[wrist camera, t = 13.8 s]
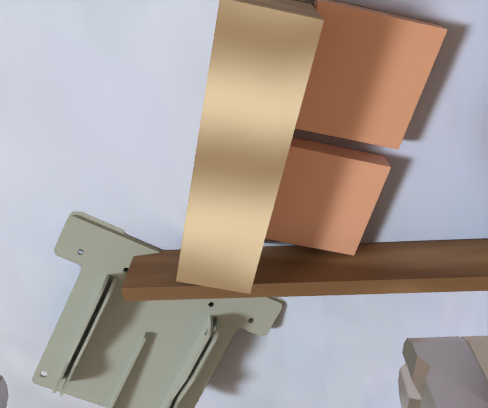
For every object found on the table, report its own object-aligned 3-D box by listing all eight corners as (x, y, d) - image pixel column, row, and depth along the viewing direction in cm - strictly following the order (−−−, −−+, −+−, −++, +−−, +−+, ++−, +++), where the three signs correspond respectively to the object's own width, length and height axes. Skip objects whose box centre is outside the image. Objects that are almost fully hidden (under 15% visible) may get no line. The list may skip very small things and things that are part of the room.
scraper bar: (251, 239, 29) (249, 293, 24) (188, 228, 28) (175, 281, 24) (311, 3, 21) (324, 20, 17) (228, -16, 21) (220, -3, 17)
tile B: (389, 136, 25) (398, 149, 23) (283, 114, 25) (285, 126, 23) (434, 22, 22) (447, 29, 20) (314, -5, 21) (318, 0, 20)
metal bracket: (200, 468, 32) (-16, 401, 28) (199, 409, 37) (18, 347, 34) (298, 300, 29) (70, 203, 26) (281, 263, 34) (92, 179, 31)
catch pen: (502, 251, 28) (531, 289, 25) (138, 263, 29) (124, 301, 26) (635, -224, 17) (715, -258, 14) (36, -168, 18) (-8, -188, 15)
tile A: (349, 238, 29) (354, 255, 27) (256, 220, 28) (255, 236, 27) (383, 153, 25) (391, 167, 24) (279, 131, 25) (280, 144, 23)
